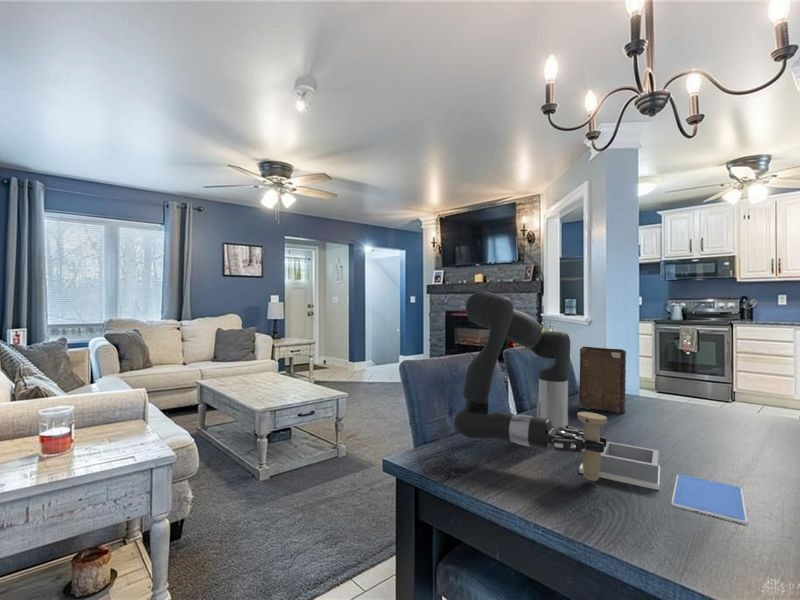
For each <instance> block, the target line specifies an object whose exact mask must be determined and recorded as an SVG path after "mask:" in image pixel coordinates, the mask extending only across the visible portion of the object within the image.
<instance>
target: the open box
mask: <svg viewBox="0 0 800 600" xmlns="http://www.w3.org/2000/svg"><path fill="white" fill-rule="evenodd" d="M659 452H660V451H659V450H658V449H652V448H647V447H640V446H636V445H635V446H634V445H629V444H624V443H618V442H612V441H607V444H606V447H604V452H603V453H601V463H600V471H599V473H598V474H599V478H602V479H606V480H611V481H616V482H619V483H625V484H629V485H634V486H639V487H643V488H647V489H653V490H658V491H660V483H661V482H660V479H661V465H660V464H659V462H660V459H659V458H660V455H659ZM578 469H579V472H578V473H580V474H583V472H584V470H583V463H581V464H580V466H579V468H578Z"/></svg>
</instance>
